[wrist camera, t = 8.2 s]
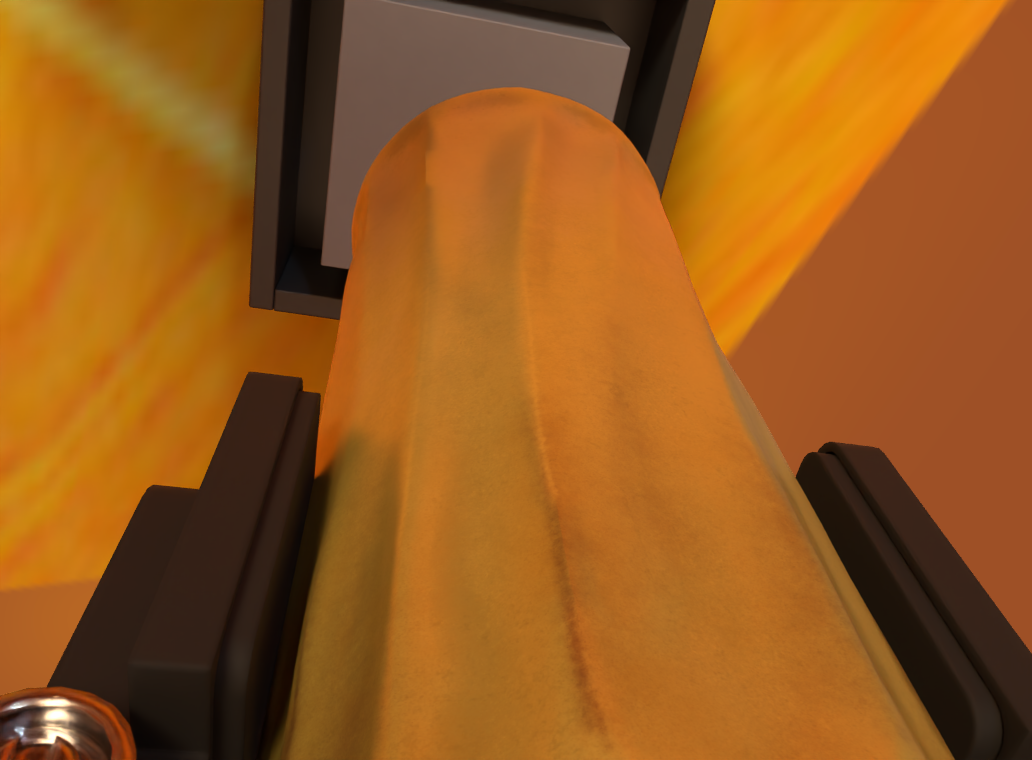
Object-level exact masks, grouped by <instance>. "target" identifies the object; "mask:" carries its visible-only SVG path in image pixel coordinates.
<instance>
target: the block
mask: <svg viewBox="0 0 1032 760" xmlns="http://www.w3.org/2000/svg"><path fill="white" fill-rule="evenodd" d="M629 53H630V47H629V46H628V45H627V44H626V43H625V42H624V41H623V40H622V39H621V38H620V37H619V36H618V35H617V34H616V33H615V32H614V31H613V30H612V29H611V28H610V27H609V26H608V25H607V24H606V23H605V22H602V21H597V20H592V19H587V18H582V17H577V16H572V15H566V14H561V13H556V12H551V11H546V10H541V9H536V8H531V7H526V6H521V5H516V4H511V3H506V2H501V1H496V0H344V10H343V22H342V33H341V44H340V55H339V67H338V78H337V89H336V100H335V111H334V123H333V134H332V145H331V156H330V168H329V179H328V190H327V201H326V213H325V224H324V235H323V246H322V258H321V265H323V266H330V267H336V268H343V269H349V268H350V265H351V262H352V259H353V256H352V220H353V213H354V209H355V206H356V202H357V198H358V195H359V192H360V189H361V186H362V183H363V181H364V178H365V176H366V174H367V172H368V170H369V169H370V167H371V165H372V163H373V162H374V160H375V159H376V157H377V156H378V154H379V153H380V151H381V150H382V149H383V148H384V147H385V145H386V144H387V143H388V142H389V141H390V140H391V139H392V137H393V136H394V135H395V134H396V133H397V132H398V131H399V130H401V129H402V128H403V127H404V126H405V125H406V124H407V123H408V122H410V121H411V120H412V119H413V118H415V117H416V116H417V115H419V114H420V113H422V112H424V111H425V110H427V109H428V108H430V107H431V106H434V105H436V104H438V103H440V102H443V101H445V100H447V99H450V98H453V97H456V96H460V95H463V94H466V93H471V92H476V91H480V90H485V89H494V88H503V87H522V88H528V89H534V90H539V91H543V92H547V93H551V94H554V95H558V96H561V97H565V98H568V99H571V100H573V101H575V102H578V103H580V104H582V105H585V106H587V107H589V108H590V109H592V110H594V111H596V112H597V113H599V114H601V115H602V116H604V117H605V118H607V119H608V120H610V121H611V122H612V123H613V120H614V116H615V112H616V108H617V103H618V99H619V95H620V91H621V87H622V83H623V78H624V74H625V70H626V66H627V62H628V58H629Z"/></svg>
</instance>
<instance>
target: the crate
mask: <svg viewBox="0 0 1032 760" xmlns="http://www.w3.org/2000/svg"><path fill="white" fill-rule="evenodd" d="M496 1H501V2H506V3H511V4H516V5H521V6H526V7H531V8H536V9H541V10H546V11H551V12H556V13H561V14H566V15H572V16H577V17H582V18H587V19H592V20H597V21H602V22H605V23H606V24H607V25H608V26H609V27H610V28H611V29H612V30H613V31H614V32H615V33H616V34H617V35H618V36H619V37H620V38H621V39H622V40H623V41H624V42H625V43H626V44H627V45H628V46H629V47H630V53H629V58H628V62H627V66H626V70H625V74H624V78H623V83H622V87H621V91H620V95H619V99H618V103H617V108H616V112H615V116H614V120H613V123H614V124H615V125H616V126H617V127H618V128H619V129H620V130H621V131H622V132H623V133H624V134H625V135H626V137H627V138H628V139H629V140H630V141H631V143H632V144H633V145H634V147H635V148H636V150H637V151H638V153H639V154H640V155H641V157H642V159H643V160H644V162H645V164H646V165H647V167H648V169H649V171H650V173H651V175H652V177H653V179H654V181H655V183H656V186H657V188H658V191H659V194H660V199H661V196H662V192H663V188H664V185H665V181H666V178H667V174H668V170H669V167H670V163H671V160H672V156H673V152H674V149H675V145H676V141H677V138H678V134H679V131H680V127H681V123H682V120H683V116H684V113H685V109H686V105H687V102H688V98H689V94H690V91H691V87H692V84H693V80H694V76H695V73H696V69H697V65H698V62H699V58H700V55H701V51H702V47H703V44H704V40H705V37H706V33H707V29H708V26H709V22H710V18H711V15H712V11H713V8H714V4H715V0H496ZM343 10H344V0H264V3H263V24H262V44H261V65H260V86H259V107H258V127H257V148H256V169H255V190H254V210H253V231H252V252H251V273H250V293H249V306H250V307H253V308H260V309H267V310H273V308H274V310H275V311H281V312H288V313H295V314H302V315H309V316H316V317H323V318H330V319H337V320H340V315H341V308H342V301H343V295H344V289H345V284H346V280H347V275H348V272H349V269H343V268H336V267H330V266H323V265H321V258H322V246H323V235H324V224H325V213H326V201H327V190H328V179H329V168H330V156H331V145H332V134H333V123H334V111H335V100H336V89H337V78H338V67H339V55H340V44H341V33H342V22H343Z"/></svg>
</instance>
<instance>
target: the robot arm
mask: <svg viewBox="0 0 1032 760" xmlns="http://www.w3.org/2000/svg"><path fill="white" fill-rule="evenodd" d="M320 401H321V395H320V393H312V392H304V391H303V381H302V378H299V377H291V376H283V375H275V374H266V373H258V372H248V374H247V376H246V378H245V380H244V383H243V385H242V388H241V390H240V392H239V395H238V397H237V400H236V402H235V405H234V407H233V409H232V412H231V414H230V417H229V419H228V421H227V424H226V426H225V429H224V431H223V433H222V436H221V438H220V441H219V443H218V445H217V448H216V450H215V453H214V455H213V457H212V460H211V462H210V465H209V467H208V469H207V472H206V474H205V477H204V479H203V482H202V484H201V486H200V489H190V488H180V487H170V486H161V485H152V486H151V487H149V488H148V489H147V490H146V492H145V493H144V495H143V496H142V498H141V500H140V502H139V504H138V506H137V508H136V510H135V512H134V514H133V516H132V518H131V520H130V522H129V524H128V526H127V528H126V530H125V532H124V534H123V536H122V538H121V540H120V542H119V544H118V546H117V548H116V550H115V552H114V554H113V556H112V558H111V560H110V562H109V564H108V566H107V568H106V570H105V572H104V574H103V576H102V578H101V580H100V582H99V584H98V586H97V588H96V590H95V592H94V594H93V596H92V598H91V600H90V602H89V604H88V606H87V608H86V610H85V612H84V614H83V616H82V618H81V620H80V621H79V623H78V625H77V628H76V629H75V631H74V633H73V635H72V637H71V639H70V642H69V643H68V645H67V648H66V649H65V651H64V654H63V656H62V657H61V660H60V661H59V663H58V665H57V667H56V669H55V671H54V673H53V675H52V677H51V679H50V681H49V683H48V685H47V687H44V688H27V689H23V690H19V691H16V692H12V693H8V694H4V695H1V696H0V760H256V759H257V754H258V749H259V744H260V739H261V734H262V729H263V724H264V719H265V714H266V709H267V703H268V698H269V693H270V688H271V682H272V677H273V672H274V667H275V662H276V658H277V653H278V648H279V644H280V639H281V634H282V629H283V625H284V620H285V615H286V611H287V606H288V601H289V597H290V592H291V587H292V582H293V578H294V573H295V568H296V563H297V559H298V554H299V549H300V544H301V540H302V535H303V530H304V525H305V521H306V516H307V511H308V506H309V502H310V497H311V492H312V487H313V483H314V477H315V465H316V452H317V440H318V427H319V415H320ZM796 480H797V481H798V483H799V485H800V486H801V488H802V490H803V492H804V493H805V495H806V497H807V499H808V500H809V502H810V504H811V506H812V508H813V509H814V511H815V513H816V515H817V517H818V518H819V520H820V522H821V524H822V526H823V528H824V530H825V531H826V533H827V535H828V537H829V539H830V541H831V543H832V545H833V547H834V549H835V550H836V552H837V554H838V556H839V558H840V560H841V562H842V563H843V565H844V567H845V569H846V571H847V573H848V575H849V576H850V578H851V580H852V582H853V583H854V585H855V587H856V589H857V590H858V592H859V594H860V596H861V597H862V599H863V601H864V603H865V604H866V606H867V608H868V609H869V611H870V613H871V615H872V616H873V618H874V620H875V621H876V623H877V625H878V626H879V628H880V630H881V632H882V633H883V635H884V637H885V638H886V640H887V642H888V644H889V645H890V647H891V649H892V651H893V652H894V654H895V656H896V657H897V659H898V661H899V663H900V664H901V666H902V668H903V670H904V671H905V673H906V675H907V677H908V678H909V680H910V682H911V684H912V686H913V687H914V689H915V691H916V693H917V694H918V696H919V698H920V700H921V701H922V703H923V705H924V706H925V708H926V710H927V712H928V713H929V715H930V717H931V719H932V720H933V722H934V724H935V725H936V727H937V729H938V731H939V732H940V734H941V736H942V738H943V739H944V741H945V743H946V745H947V747H948V748H949V750H950V752H951V754H952V755H953V757H954V759H955V760H1032V654H1031V652H1030V651H1029V650H1028V648H1027V647H1026V645H1024V643H1023V641H1022V640H1021V639H1020V637H1019V636H1018V635H1017V633H1016V632H1015V631H1014V629H1013V628H1012V626H1011V625H1010V624H1009V623H1008V621H1007V620H1006V618H1005V617H1004V616H1003V614H1002V613H1001V611H1000V610H999V609H998V607H997V606H996V605H995V603H994V602H993V601H992V599H991V598H990V597H989V595H988V594H987V592H986V591H985V590H984V588H983V587H982V586H981V584H980V583H979V582H978V580H977V579H976V578H975V576H974V575H973V573H972V572H971V571H970V569H969V568H968V567H967V565H966V564H965V563H964V561H963V560H962V558H961V557H960V556H959V554H958V553H957V552H956V550H955V549H954V548H953V546H952V545H951V544H950V542H949V541H948V539H947V538H946V537H945V536H944V534H943V533H942V532H941V530H940V529H939V527H938V526H937V524H936V523H935V522H934V520H933V519H932V518H931V517H930V515H929V514H928V512H927V511H926V510H925V508H924V507H923V505H922V504H921V503H920V502H919V500H918V499H917V497H916V496H915V495H914V493H913V492H912V491H911V489H910V488H909V486H908V485H907V484H906V482H905V481H904V480H903V478H902V477H901V476H900V474H899V473H898V472H897V470H896V469H895V468H894V466H893V465H892V463H891V462H890V461H889V459H888V458H887V457H886V455H885V454H884V453H883V452H882V451H881V450H880V449H879V448H875V447H869V446H860V445H853V444H845V443H835V442H828V443H825V444H824V445H823V446H822V447H821V448H820V449H819V450H818V452H811V453H808V454H807V455H806V456H805V457H804V459H803V461H802V463H801V465H800V468H799V470H798V473H797V475H796Z"/></svg>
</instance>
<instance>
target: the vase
mask: <svg viewBox="0 0 1032 760" xmlns="http://www.w3.org/2000/svg"><path fill="white" fill-rule="evenodd" d="M352 256H353V259H352V262H351V265H350V268H349V272H348V275H347V280H346V284H345V289H344V295H343V301H342V308H341V315H340V323H339V329H338V335H337V340H336V345H335V350H334V355H333V360H332V364H331V369H330V374H329V378H328V383H327V388H326V393H325V398H324V403H323V408H322V413H321V418H320V424H319V429H318V440H317V452H316V465H315V477H314V483H313V487H312V492H311V497H310V502H309V506H308V511H307V516H306V521H305V525H304V530H303V535H302V540H301V544H300V549H299V554H298V559H297V563H296V568H295V573H294V578H293V582H292V587H291V592H290V597H289V601H288V606H287V611H286V615H285V620H284V625H283V629H282V634H281V639H280V644H279V648H278V653H277V658H276V662H275V667H274V672H273V677H272V682H271V688H270V693H269V698H268V703H267V709H266V714H265V719H264V724H263V729H262V734H261V739H260V744H259V749H258V754H257V759H256V760H955V759H954V757H953V755H952V754H951V752H950V750H949V748H948V747H947V745H946V743H945V741H944V739H943V738H942V736H941V734H940V732H939V731H938V729H937V727H936V725H935V724H934V722H933V720H932V719H931V717H930V715H929V713H928V712H927V710H926V708H925V706H924V705H923V703H922V701H921V700H920V698H919V696H918V694H917V693H916V691H915V689H914V687H913V686H912V684H911V682H910V680H909V678H908V677H907V675H906V673H905V671H904V670H903V668H902V666H901V664H900V663H899V661H898V659H897V657H896V656H895V654H894V652H893V651H892V649H891V647H890V645H889V644H888V642H887V640H886V638H885V637H884V635H883V633H882V632H881V630H880V628H879V626H878V625H877V623H876V621H875V620H874V618H873V616H872V615H871V613H870V611H869V609H868V608H867V606H866V604H865V603H864V601H863V599H862V597H861V596H860V594H859V592H858V590H857V589H856V587H855V585H854V583H853V582H852V580H851V578H850V576H849V575H848V573H847V571H846V569H845V567H844V565H843V563H842V562H841V560H840V558H839V556H838V554H837V552H836V550H835V549H834V547H833V545H832V543H831V541H830V539H829V537H828V535H827V533H826V531H825V530H824V528H823V526H822V524H821V522H820V520H819V518H818V517H817V515H816V513H815V511H814V509H813V508H812V506H811V504H810V502H809V500H808V499H807V497H806V495H805V493H804V492H803V490H802V488H801V486H800V485H799V483H798V481H797V480H796V478H795V476H794V475H793V473H792V471H791V470H790V468H789V466H788V464H787V462H786V460H785V459H784V457H783V455H782V453H781V451H780V449H779V447H778V446H777V444H776V442H775V440H774V438H773V436H772V434H771V433H770V431H769V429H768V427H767V425H766V423H765V421H764V420H763V418H762V416H761V414H760V413H759V411H758V410H757V407H756V406H755V404H754V402H753V401H752V399H751V397H750V396H749V394H748V392H747V391H746V389H745V387H744V386H743V384H742V383H741V381H740V379H739V378H738V376H737V374H736V373H735V371H734V370H733V368H732V366H731V365H730V363H729V362H728V360H727V358H726V357H725V355H724V354H723V352H722V350H721V349H720V347H719V345H718V344H717V342H716V340H715V337H714V335H713V333H712V331H711V329H710V326H709V324H708V322H707V319H706V317H705V315H704V312H703V310H702V307H701V305H700V302H699V300H698V298H697V295H696V293H695V291H694V288H693V286H692V283H691V280H690V277H689V274H688V272H687V269H686V266H685V263H684V261H683V258H682V255H681V253H680V250H679V247H678V244H677V242H676V239H675V236H674V234H673V231H672V228H671V225H670V223H669V221H668V219H667V217H666V214H665V212H664V209H663V206H662V204H661V201H660V194H659V191H658V188H657V186H656V183H655V181H654V179H653V177H652V175H651V173H650V171H649V169H648V167H647V165H646V164H645V162H644V160H643V159H642V157H641V155H640V154H639V153H638V151H637V150H636V148H635V147H634V145H633V144H632V143H631V141H630V140H629V139H628V138H627V137H626V135H625V134H624V133H623V132H622V131H621V130H620V129H619V128H618V127H617V126H616V125H615V124H614V123H612V122H611V121H610V120H608V119H607V118H605V117H604V116H602V115H601V114H599V113H597V112H596V111H594V110H592V109H590V108H589V107H587V106H585V105H582V104H580V103H578V102H575V101H573V100H571V99H568V98H565V97H561V96H558V95H554V94H551V93H547V92H543V91H539V90H534V89H528V88H522V87H503V88H494V89H485V90H480V91H476V92H471V93H466V94H463V95H460V96H456V97H453V98H450V99H447V100H445V101H443V102H440V103H438V104H436V105H434V106H431V107H430V108H428V109H427V110H425V111H424V112H422V113H420V114H419V115H417V116H416V117H415V118H413V119H412V120H411V121H410V122H408V123H407V124H406V125H405V126H404V127H403V128H402V129H401V130H399V131H398V132H397V133H396V134H395V135H394V136H393V137H392V139H391V140H390V141H389V142H388V143H387V144H386V145H385V147H384V148H383V149H382V150H381V151H380V153H379V154H378V156H377V157H376V159H375V160H374V162H373V163H372V165H371V167H370V169H369V170H368V172H367V174H366V176H365V178H364V181H363V183H362V186H361V189H360V192H359V195H358V198H357V202H356V206H355V209H354V213H353V220H352Z"/></svg>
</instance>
